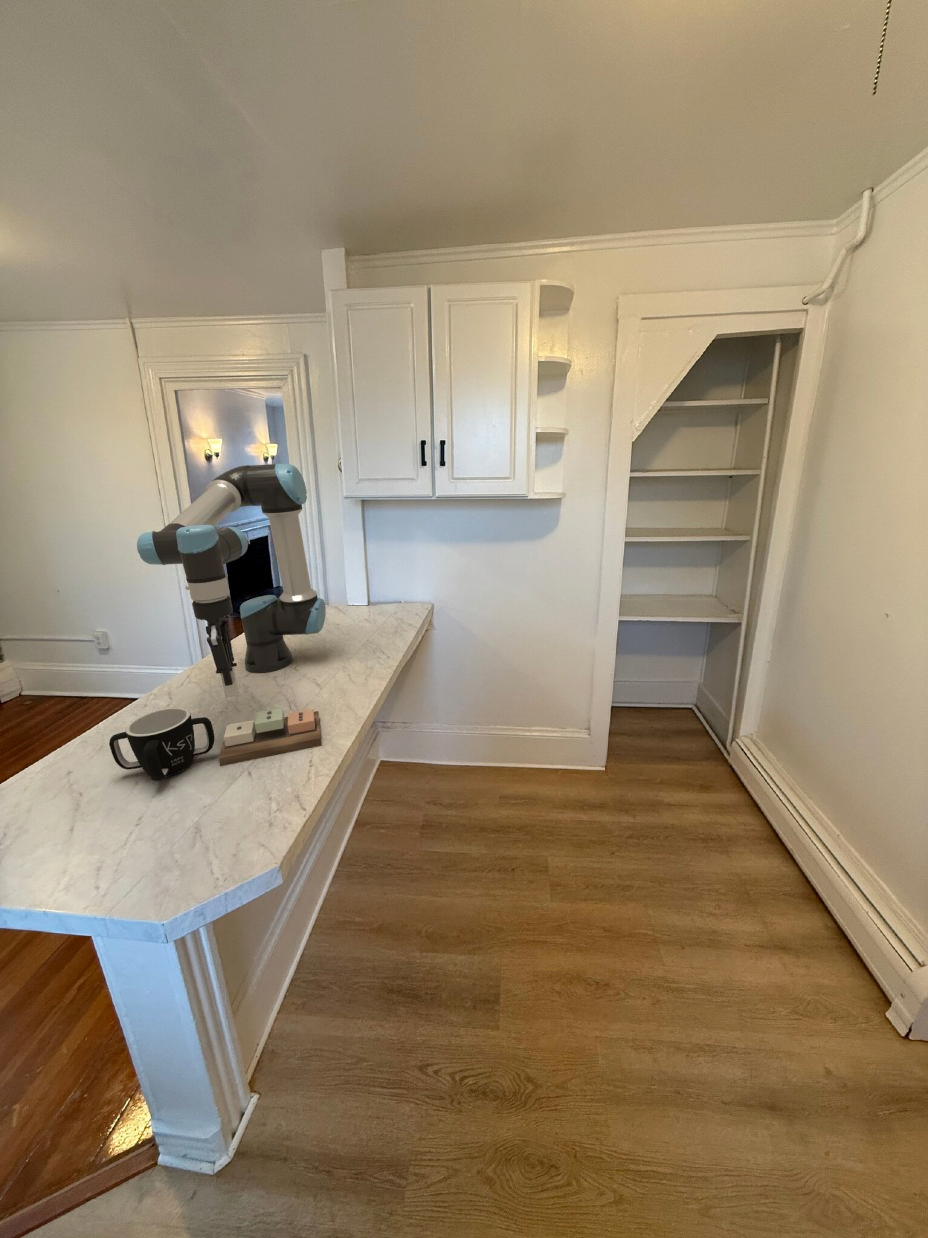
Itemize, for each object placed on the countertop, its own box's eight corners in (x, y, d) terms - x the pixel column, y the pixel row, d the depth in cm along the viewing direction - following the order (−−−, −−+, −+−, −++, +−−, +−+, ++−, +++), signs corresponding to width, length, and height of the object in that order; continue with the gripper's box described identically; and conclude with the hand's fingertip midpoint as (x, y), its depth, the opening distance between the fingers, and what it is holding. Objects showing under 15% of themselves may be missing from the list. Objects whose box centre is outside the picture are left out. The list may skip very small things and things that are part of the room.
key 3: (289, 722, 119) (288, 712, 118) (314, 717, 121) (313, 708, 120) (289, 734, 114) (287, 724, 113) (315, 729, 115) (313, 719, 114)
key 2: (258, 720, 116) (256, 711, 116) (284, 716, 118) (282, 706, 117) (256, 733, 111) (254, 723, 110) (283, 728, 113) (281, 718, 112)
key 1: (229, 733, 115) (227, 723, 114) (255, 728, 117) (253, 719, 116) (225, 746, 110) (223, 736, 109) (253, 741, 111) (251, 731, 110)
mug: (151, 800, 96) (135, 749, 92) (114, 776, 104) (99, 728, 101) (225, 758, 109) (215, 712, 106) (187, 740, 117) (176, 696, 114)
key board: (228, 734, 119) (227, 727, 118) (319, 717, 125) (318, 710, 125) (220, 766, 106) (218, 758, 106) (321, 745, 113) (320, 737, 112)
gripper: (197, 592, 107) (219, 686, 115) (184, 608, 95) (210, 711, 103) (233, 588, 109) (252, 681, 117) (225, 603, 97) (247, 705, 105)
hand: (232, 695), depth 110 cm, fingers closed
